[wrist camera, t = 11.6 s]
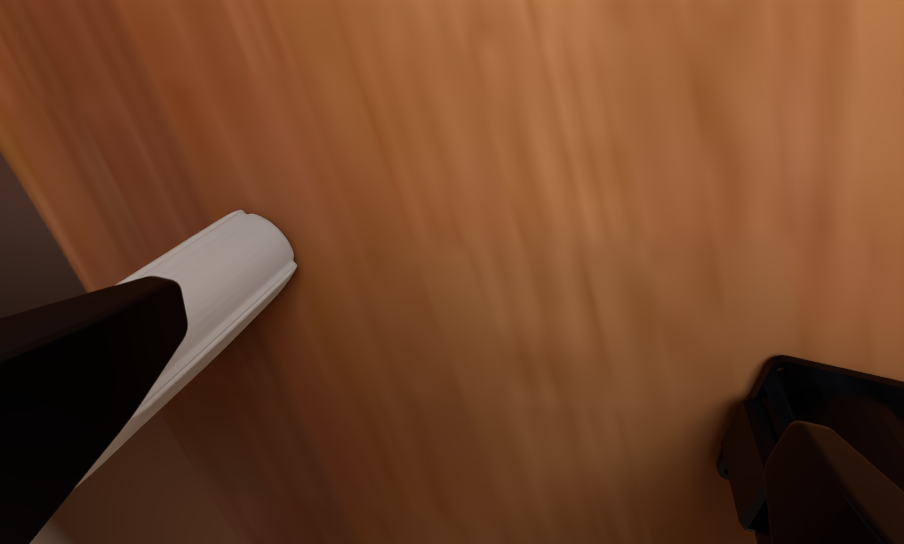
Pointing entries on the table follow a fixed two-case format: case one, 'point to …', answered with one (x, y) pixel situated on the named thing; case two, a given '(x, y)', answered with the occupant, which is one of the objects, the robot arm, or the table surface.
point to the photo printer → (213, 299)
